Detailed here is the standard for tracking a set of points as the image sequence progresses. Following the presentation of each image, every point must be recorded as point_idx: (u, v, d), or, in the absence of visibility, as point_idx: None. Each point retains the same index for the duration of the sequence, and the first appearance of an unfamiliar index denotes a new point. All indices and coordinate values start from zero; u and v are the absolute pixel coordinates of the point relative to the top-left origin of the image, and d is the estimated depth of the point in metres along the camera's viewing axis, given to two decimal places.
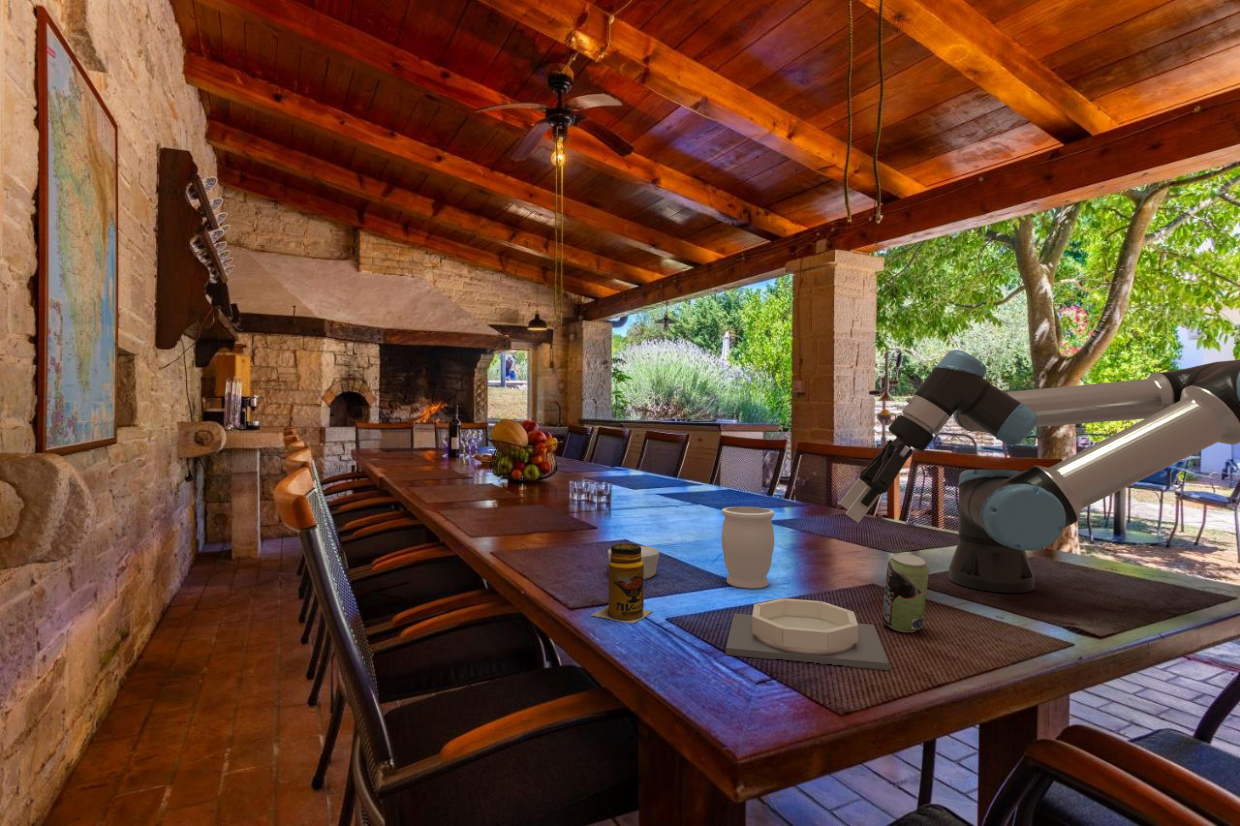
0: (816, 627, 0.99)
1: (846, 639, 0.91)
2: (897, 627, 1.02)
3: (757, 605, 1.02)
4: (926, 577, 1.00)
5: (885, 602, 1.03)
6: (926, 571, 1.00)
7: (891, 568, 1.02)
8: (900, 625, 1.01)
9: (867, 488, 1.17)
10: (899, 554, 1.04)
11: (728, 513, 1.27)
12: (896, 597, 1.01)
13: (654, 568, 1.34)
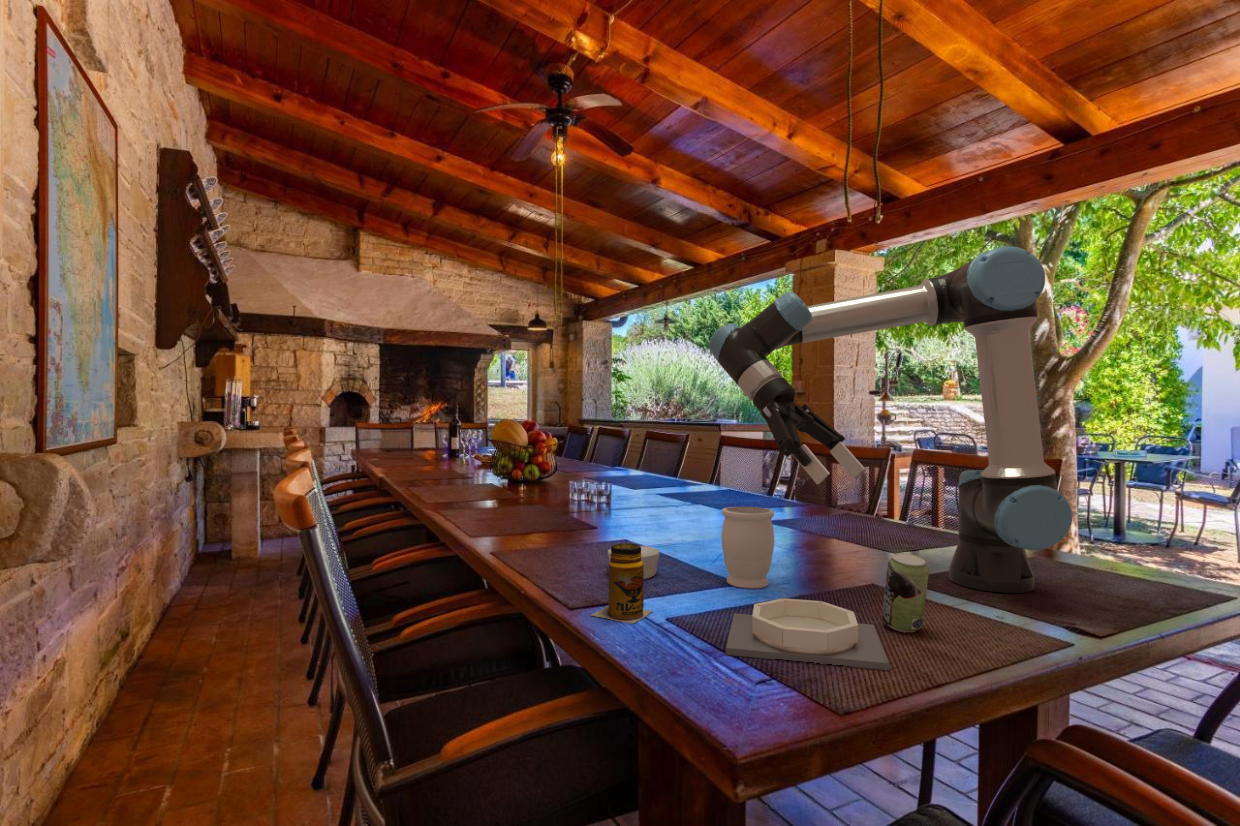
0: (816, 627, 0.99)
1: (846, 639, 0.91)
2: (897, 627, 1.02)
3: (757, 605, 1.02)
4: (926, 577, 1.00)
5: (885, 602, 1.03)
6: (926, 571, 1.00)
7: (891, 568, 1.02)
8: (900, 625, 1.01)
9: (794, 455, 1.09)
10: (899, 554, 1.04)
11: (728, 513, 1.27)
12: (896, 597, 1.01)
13: (654, 568, 1.34)
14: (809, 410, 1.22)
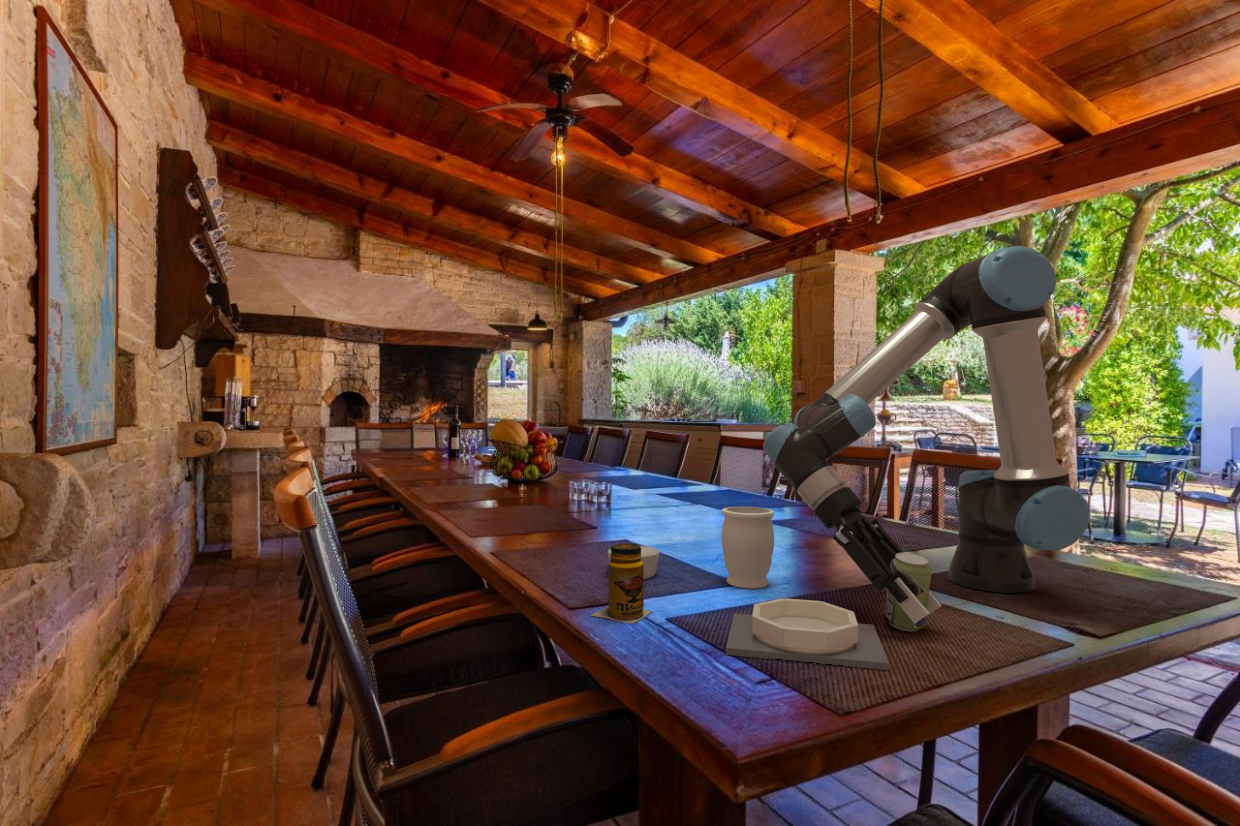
0: (816, 627, 0.99)
1: (846, 639, 0.91)
2: (899, 626, 1.02)
3: (757, 605, 1.02)
4: (929, 576, 1.01)
5: (888, 601, 1.04)
6: (929, 570, 1.01)
7: (894, 567, 1.02)
8: (902, 624, 1.02)
9: None
10: (902, 553, 1.05)
11: (728, 513, 1.27)
12: None
13: (654, 568, 1.34)
14: (879, 526, 1.11)
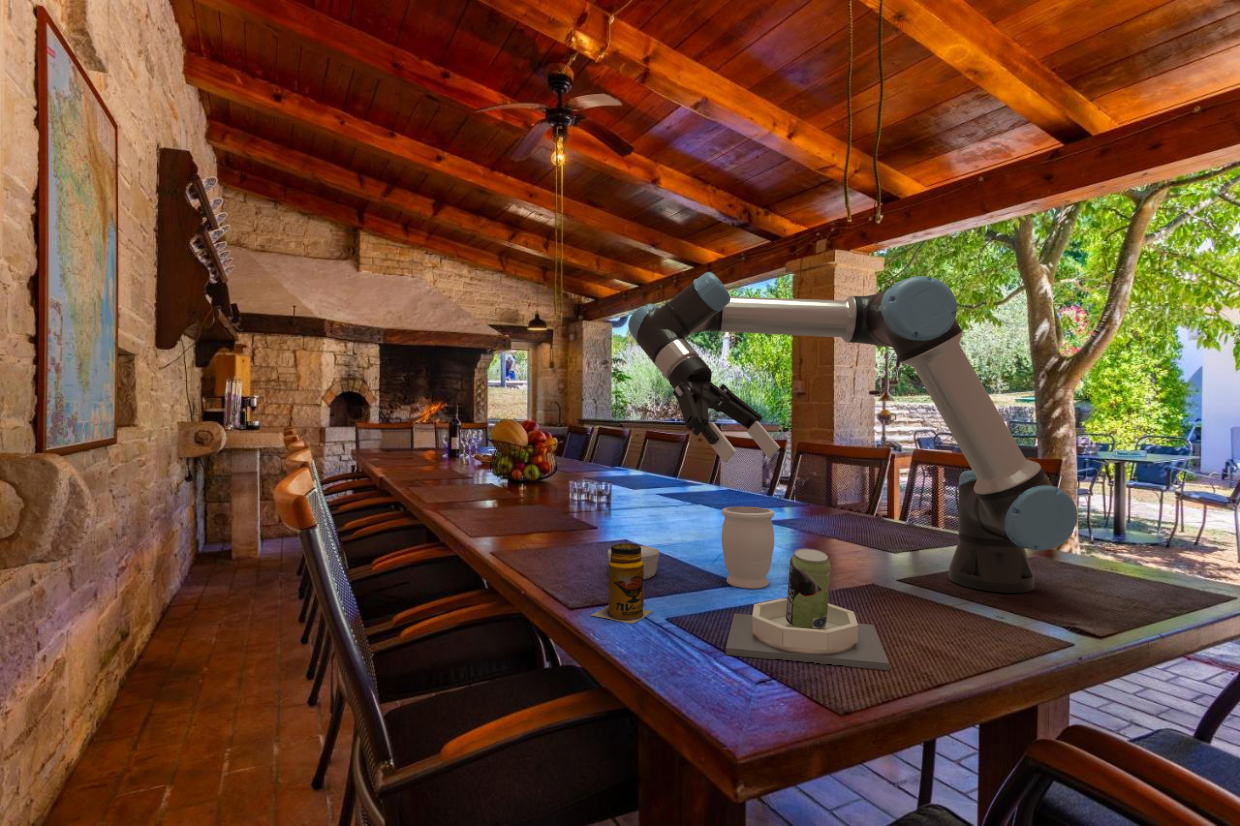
0: None
1: (846, 639, 0.91)
2: (798, 626, 0.97)
3: (757, 605, 1.02)
4: (827, 574, 0.95)
5: (787, 600, 0.98)
6: (828, 567, 0.95)
7: (792, 565, 0.97)
8: (801, 625, 0.96)
9: None
10: (803, 549, 0.99)
11: (728, 513, 1.27)
12: (796, 594, 0.96)
13: (654, 568, 1.35)
14: (727, 390, 1.20)
